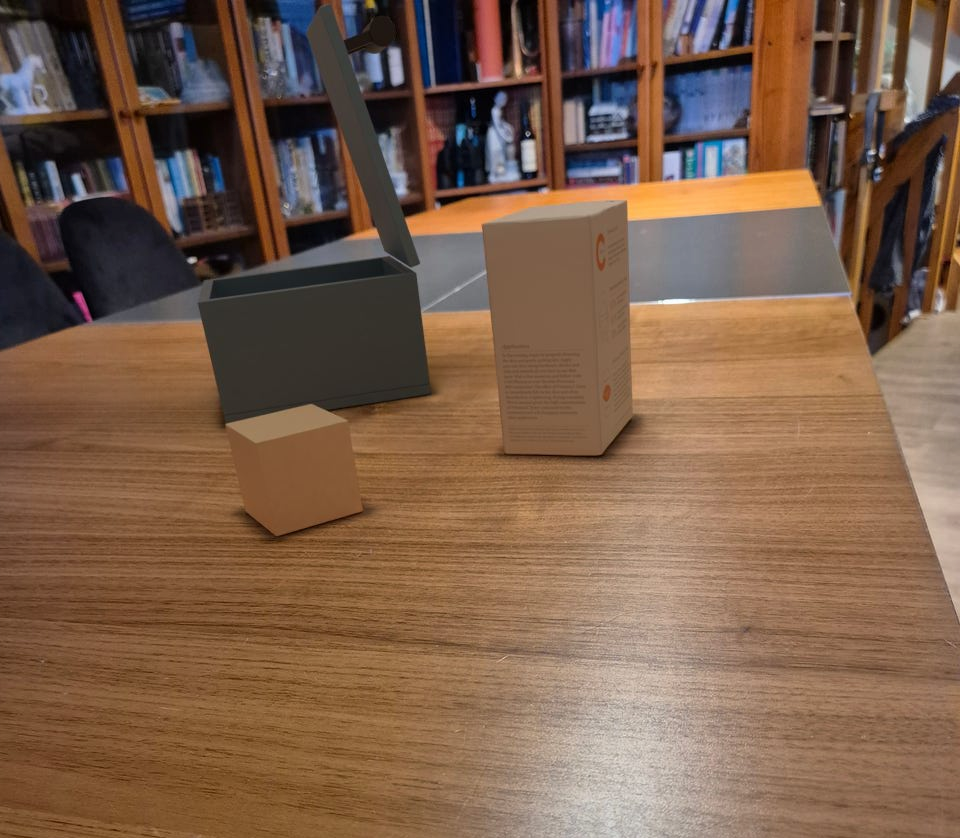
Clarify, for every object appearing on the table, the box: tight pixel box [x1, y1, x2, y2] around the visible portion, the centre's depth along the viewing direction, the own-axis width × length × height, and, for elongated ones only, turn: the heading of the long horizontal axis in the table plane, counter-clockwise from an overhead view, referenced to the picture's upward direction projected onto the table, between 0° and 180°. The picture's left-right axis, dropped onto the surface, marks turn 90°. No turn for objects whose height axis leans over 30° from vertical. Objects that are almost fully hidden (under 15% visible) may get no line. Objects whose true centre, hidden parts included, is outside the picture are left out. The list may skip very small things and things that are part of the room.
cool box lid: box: [305, 2, 421, 269], centre depth 69 cm, size 16×14×5 cm
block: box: [225, 404, 364, 537], centre depth 50 cm, size 5×5×5 cm
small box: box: [481, 199, 634, 456], centre depth 55 cm, size 8×6×13 cm
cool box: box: [197, 255, 432, 425], centre depth 74 cm, size 16×14×9 cm
